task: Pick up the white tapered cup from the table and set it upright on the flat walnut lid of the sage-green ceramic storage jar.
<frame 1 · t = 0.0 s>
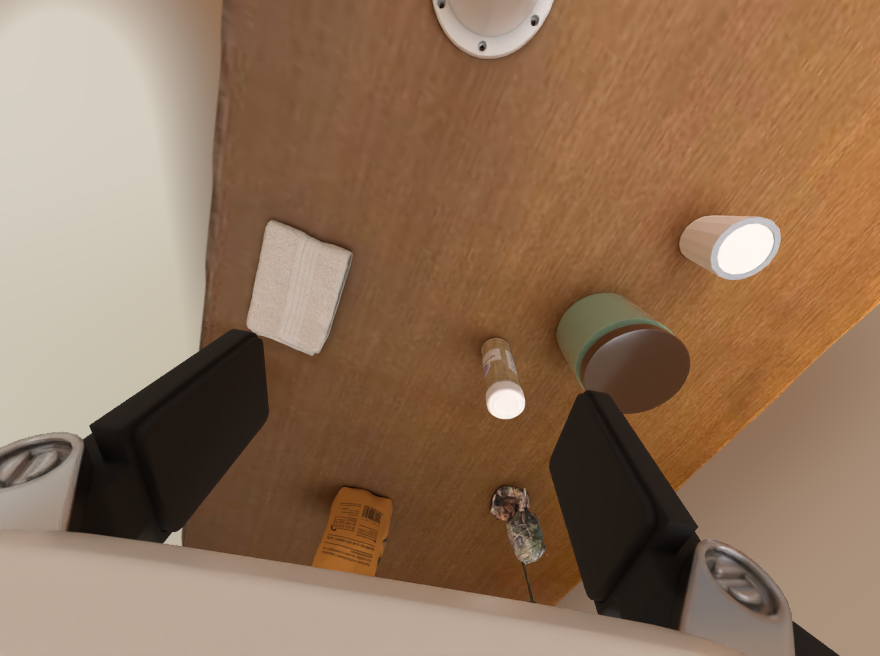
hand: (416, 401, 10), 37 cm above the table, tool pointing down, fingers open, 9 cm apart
washcloth: (302, 289, 48), on the table
plant with pod: (512, 497, 65), on the table
white tapered cup: (701, 238, 42), on the table
coffee package: (364, 503, 68), on the table
jar: (598, 331, 48), on the table
sprinkles bottle: (495, 349, 51), on the table
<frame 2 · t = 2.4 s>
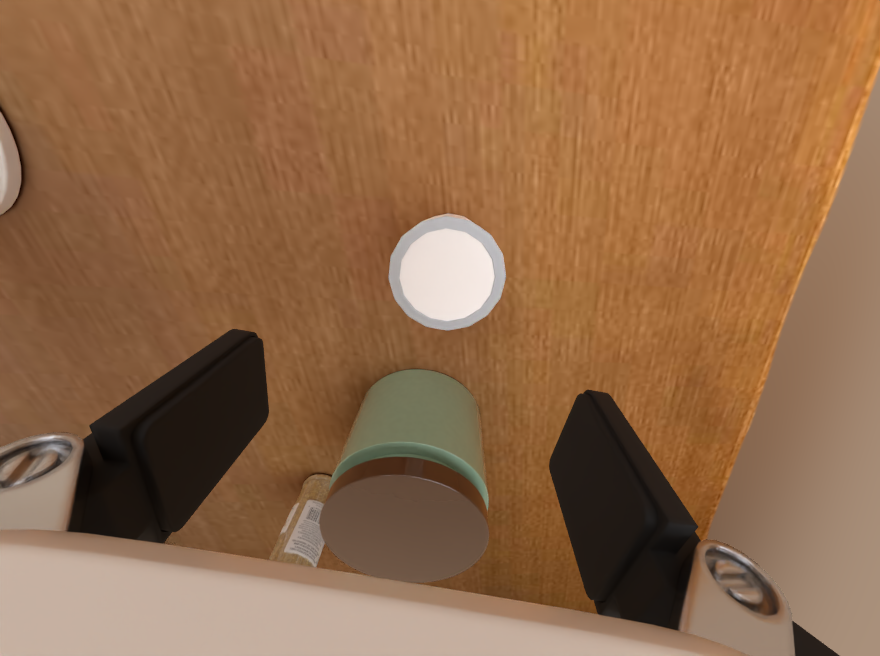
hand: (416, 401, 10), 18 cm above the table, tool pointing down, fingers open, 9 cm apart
white tapered cup: (448, 251, 25), on the table
jar: (420, 419, 33), on the table
sprinkles bottle: (325, 484, 38), on the table
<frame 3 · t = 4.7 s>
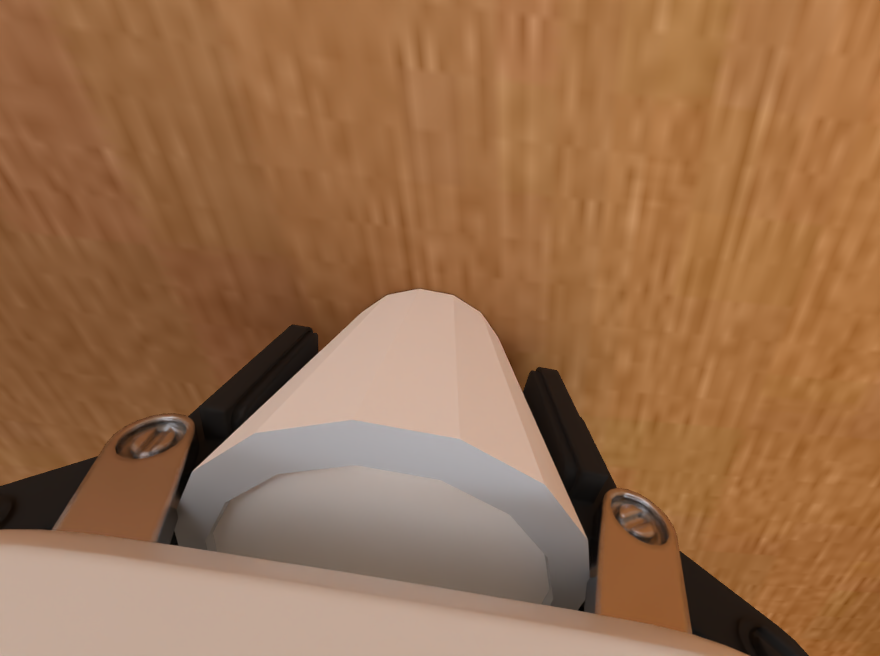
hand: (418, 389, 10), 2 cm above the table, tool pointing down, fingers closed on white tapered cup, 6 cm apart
white tapered cup: (423, 360, 12), on the table, touching gripper
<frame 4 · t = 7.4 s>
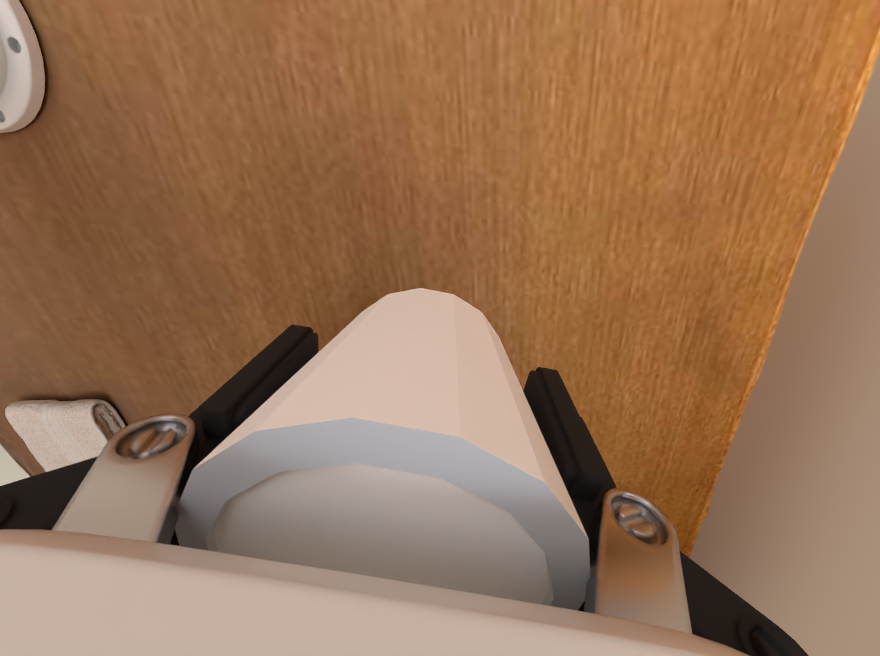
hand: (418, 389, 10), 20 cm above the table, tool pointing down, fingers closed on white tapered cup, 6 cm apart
washcloth: (104, 450, 42), on the table
white tapered cup: (424, 360, 12), point 18 cm above the table, touching gripper
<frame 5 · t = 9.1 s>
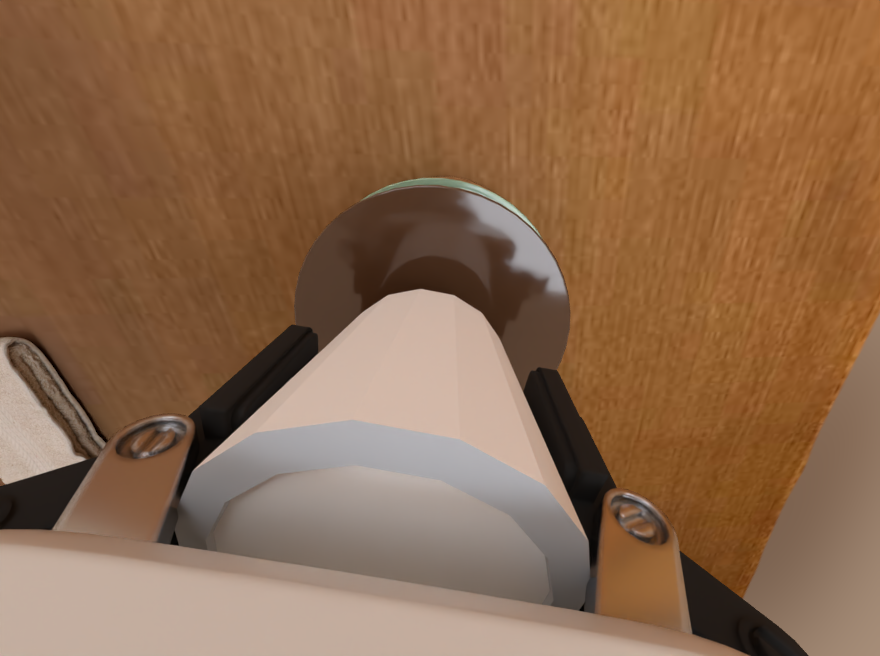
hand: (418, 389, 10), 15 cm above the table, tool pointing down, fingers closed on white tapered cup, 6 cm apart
washcloth: (39, 411, 33), on the table
white tapered cup: (424, 361, 12), point 14 cm above the table, touching gripper
jar: (443, 265, 24), on the table
when the fingers open (13 cm above the table, at t = 10.3 s): white tapered cup stays where it is, resting on jar.
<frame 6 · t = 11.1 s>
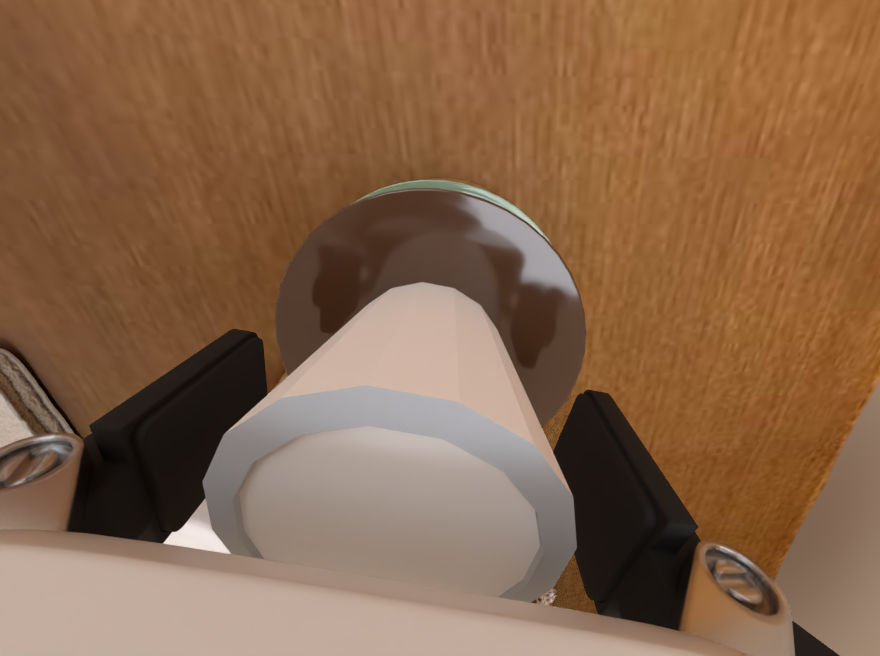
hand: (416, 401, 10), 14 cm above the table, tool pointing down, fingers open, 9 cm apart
washcloth: (21, 422, 32), on the table
white tapered cup: (426, 351, 12), point 11 cm above the table, touching jar
jar: (443, 272, 23), on the table
sprinkles bottle: (310, 385, 28), on the table
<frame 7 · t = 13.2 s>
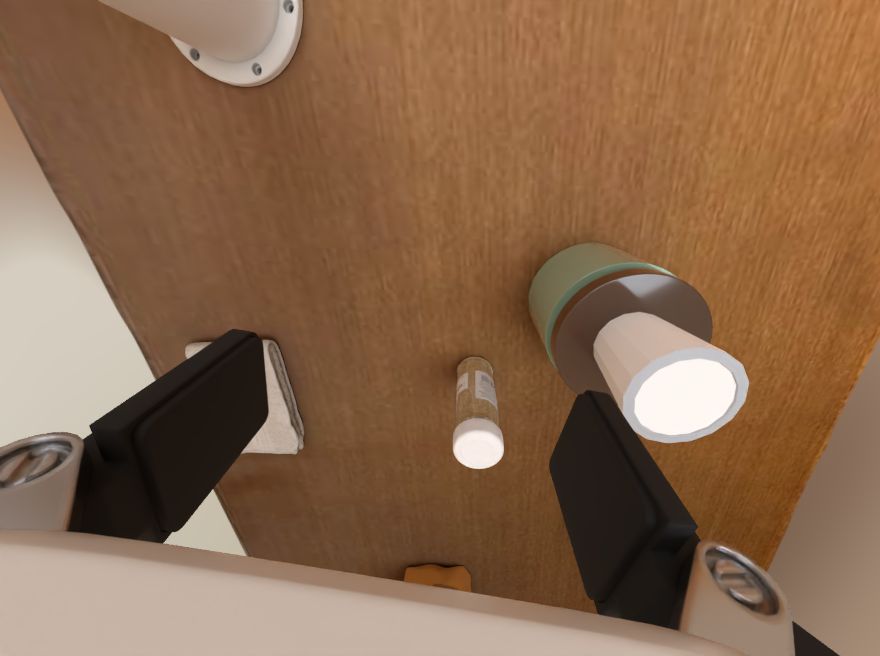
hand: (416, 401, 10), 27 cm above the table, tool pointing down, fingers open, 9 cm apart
washcloth: (256, 393, 45), on the table
white tapered cup: (629, 344, 26), point 11 cm above the table, touching jar
coffee package: (439, 577, 60), on the table
jar: (583, 297, 36), on the table
sprinkles bottle: (475, 370, 41), on the table
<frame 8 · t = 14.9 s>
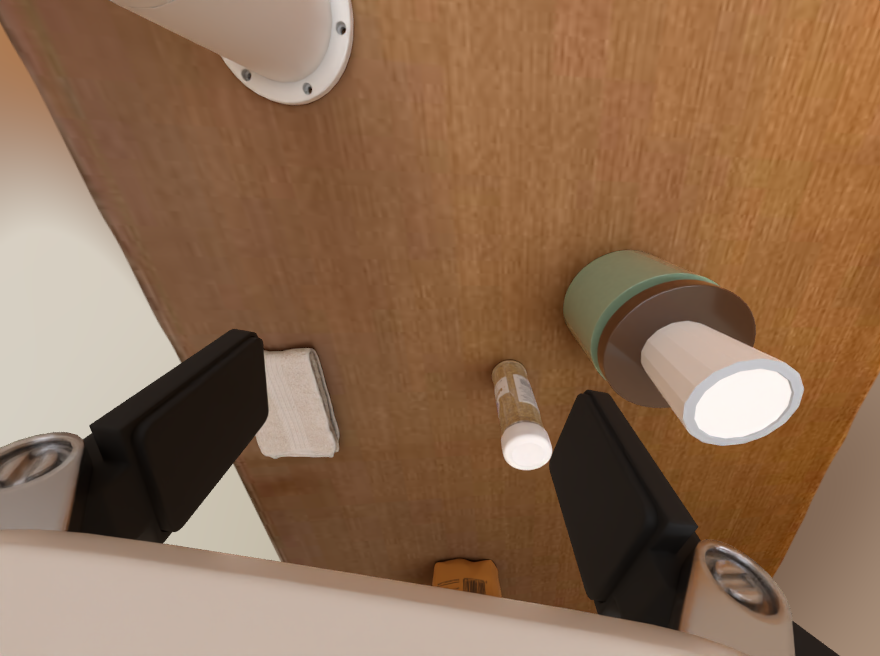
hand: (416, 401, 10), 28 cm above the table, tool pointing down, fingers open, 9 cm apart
washcloth: (293, 399, 46), on the table
white tapered cup: (675, 350, 27), point 11 cm above the table, touching jar
coffee package: (466, 571, 62), on the table
jar: (617, 302, 37), on the table
sprinkles bottle: (508, 373, 42), on the table
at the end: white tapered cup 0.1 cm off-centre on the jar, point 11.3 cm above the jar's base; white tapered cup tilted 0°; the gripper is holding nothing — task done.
